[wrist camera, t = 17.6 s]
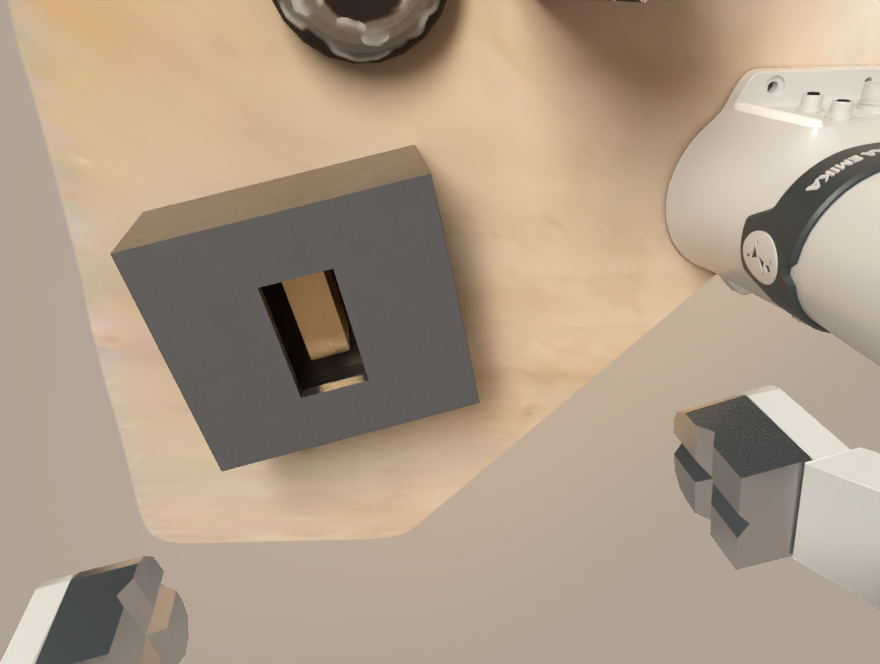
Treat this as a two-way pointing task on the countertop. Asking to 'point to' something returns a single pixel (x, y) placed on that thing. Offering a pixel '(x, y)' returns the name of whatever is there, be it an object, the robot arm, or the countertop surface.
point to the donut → (360, 26)
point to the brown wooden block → (319, 313)
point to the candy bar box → (633, 0)
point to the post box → (292, 256)
